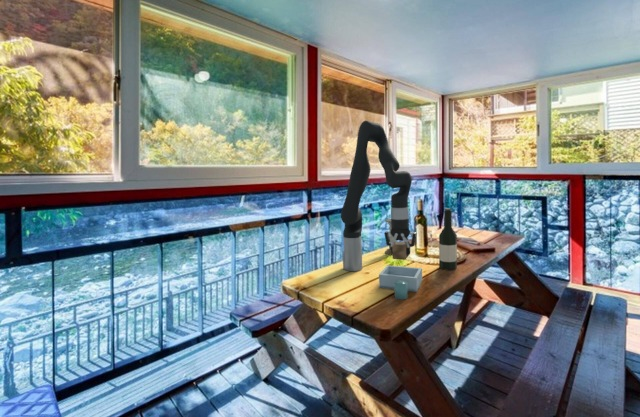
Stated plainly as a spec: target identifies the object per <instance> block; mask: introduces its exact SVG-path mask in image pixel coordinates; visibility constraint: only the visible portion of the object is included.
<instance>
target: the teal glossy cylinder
mask: <svg viewBox="0 0 640 417" xmlns="http://www.w3.org/2000/svg"><path fill="white" fill-rule="evenodd" d="M394 298H395V299H397V300H406V299H408V291H407V282H406V281H395V289H394Z"/></svg>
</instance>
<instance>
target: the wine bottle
mask: <svg viewBox="0 0 640 417" xmlns="http://www.w3.org/2000/svg"><path fill="white" fill-rule="evenodd" d="M443 212H444V213H443V214H444V216H443V218H444V220H443V221H444V223H443V224H444V225H443V226H444V227H443V229H442V230H441V232H440V233H439V235H438V240H439V241H438V242H439V243H438V247H439V248H438V254H439V255H438V257H439V258H438V259H439V260H438V262H439V263H438V265H439V269H440V270H444V271H456V270H457V268H458V265H457V264H458V261H457V260H458V255H457V254H458V250H457V249H458V240H457V239H458V235H457V233H456V232H455V230H454V229H453V227H452V225H453V224H452V221H453V219H452V214H453V213H452V209H451V208H445V210H444V211H443Z"/></svg>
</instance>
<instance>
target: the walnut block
mask: <svg viewBox="0 0 640 417" xmlns="http://www.w3.org/2000/svg"><path fill="white" fill-rule="evenodd" d="M406 248H407V246H406V244H405V243H404V241H397V242H395V243H394V244H393V245H392V250H393V255H392V260H400V261H401V260H403V261H404V260H405V261H406V260H407V259H408V257H409V256H407V254H406Z"/></svg>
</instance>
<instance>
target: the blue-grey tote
mask: <svg viewBox="0 0 640 417" xmlns="http://www.w3.org/2000/svg"><path fill="white" fill-rule="evenodd" d="M395 281H406V282H407V292H413V293H417V292H418V291H419V288H420V286H421V284H422V282H423V268H422V267H411V266H399V265H389V264H388V265H386V266H385V267H384V268H383V269H382V270H381V271H380V272H379V274H378V282H379V283H378V287H379V289H387V290H395Z"/></svg>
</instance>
